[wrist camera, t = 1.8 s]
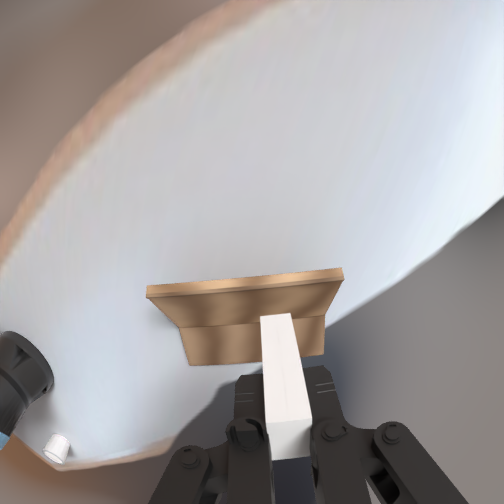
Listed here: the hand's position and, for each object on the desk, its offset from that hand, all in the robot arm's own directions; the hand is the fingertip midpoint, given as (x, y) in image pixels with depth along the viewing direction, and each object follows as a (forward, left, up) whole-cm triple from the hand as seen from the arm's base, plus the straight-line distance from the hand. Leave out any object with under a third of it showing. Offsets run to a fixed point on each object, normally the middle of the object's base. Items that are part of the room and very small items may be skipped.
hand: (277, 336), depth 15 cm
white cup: (-58, -53, -22) cm, 82 cm away
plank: (-2, -8, -18) cm, 20 cm away
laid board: (-2, -17, -22) cm, 28 cm away
